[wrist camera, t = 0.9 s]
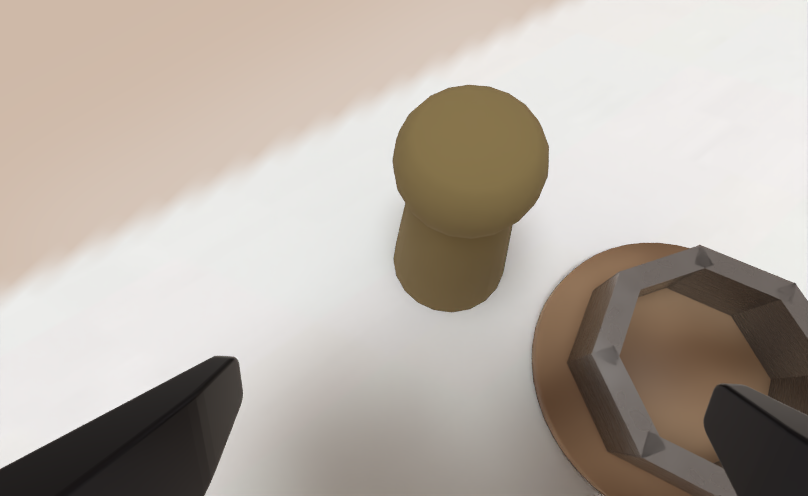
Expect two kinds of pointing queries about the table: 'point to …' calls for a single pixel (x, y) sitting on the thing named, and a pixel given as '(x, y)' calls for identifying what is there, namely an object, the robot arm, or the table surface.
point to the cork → (464, 192)
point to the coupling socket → (662, 362)
